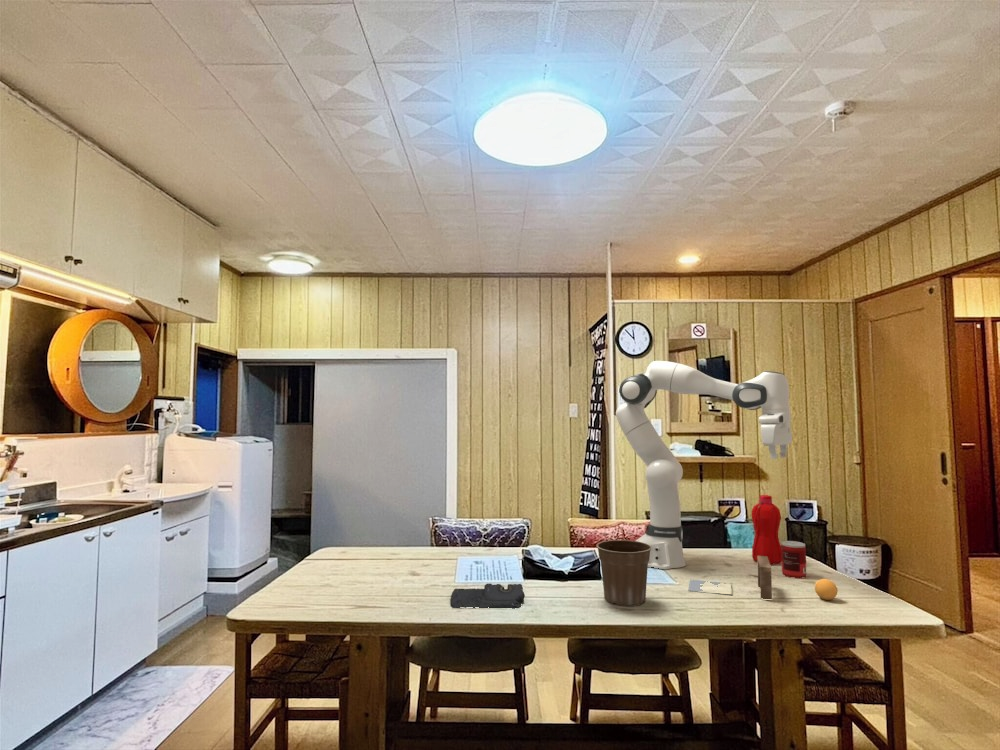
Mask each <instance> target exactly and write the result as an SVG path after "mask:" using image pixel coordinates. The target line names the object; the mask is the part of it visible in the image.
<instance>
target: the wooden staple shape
mask: <svg viewBox="0 0 1000 750" xmlns="http://www.w3.org/2000/svg"><path fill="white" fill-rule="evenodd" d="M757 560H758V562H757V587H760V588H759V589H760V599H761V598H763V599H772V600H773V586H772V585H773V584H772V580H773V579H772V565H770V563H769V560H768V557H767V556H757Z"/></svg>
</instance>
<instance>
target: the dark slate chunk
mask: <svg viewBox="0 0 1000 750" xmlns="http://www.w3.org/2000/svg"><path fill="white" fill-rule="evenodd" d="M525 597H526V595H525V592H524V588H523V584H522V583H518V584H517V583H513V584H512V583H510V584H509V583H508V584H507V588H505V586H503V585H502V584H501V583H497V584H492V583H486V584H484V586H483V588H475V587H474V588H454V589H453V591H452V592H451V594H450V606H451V607H452V609H461V608H460V607H473V608H472V609H476V608H475V607H479V608H488V607H489V608H512V609H511V610H513V609H514V610H516V609H515V608H519V609H520V608H522V607H521V603H522V602H523V603H524V602H525ZM523 603H522V604H523Z"/></svg>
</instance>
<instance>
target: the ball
mask: <svg viewBox="0 0 1000 750" xmlns="http://www.w3.org/2000/svg"><path fill="white" fill-rule="evenodd" d="M814 590H815V593H816V595H817V596H818V597H819V598H820V599H822V600H825V599H826V601H831V600H833V599H835V598H836V597H837V595H838V587H837V585H836V584H835V582H833V581H832V580H831V579H828V578H822V579H818V580H817V581H816V583H815V585H814Z"/></svg>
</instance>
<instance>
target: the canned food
mask: <svg viewBox="0 0 1000 750" xmlns="http://www.w3.org/2000/svg"><path fill="white" fill-rule="evenodd" d="M780 546H781V556H782V562H781V572H782V575H783V576H784V575H785V577H787V576H788V578H791V577H795V578H794V579H803V578H802V577H805V578H806V576H807V549H806V547H807V546H806V543H805V542H804V543H803V542H802V541H801V542H800V541H795V540H782V541H781V542H780Z"/></svg>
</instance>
